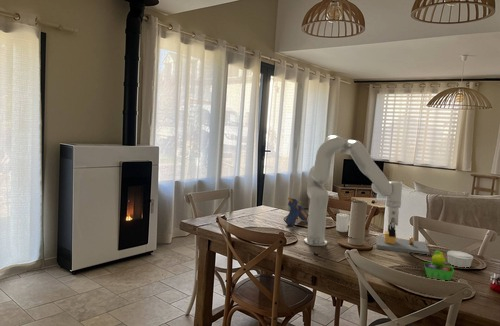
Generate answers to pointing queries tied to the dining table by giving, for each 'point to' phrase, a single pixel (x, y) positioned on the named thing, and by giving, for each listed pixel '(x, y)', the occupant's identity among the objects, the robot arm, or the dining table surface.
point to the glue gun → (295, 212)
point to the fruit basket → (438, 267)
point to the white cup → (342, 222)
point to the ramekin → (459, 258)
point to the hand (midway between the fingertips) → (391, 234)
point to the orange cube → (389, 238)
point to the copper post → (411, 241)
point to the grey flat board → (402, 246)
